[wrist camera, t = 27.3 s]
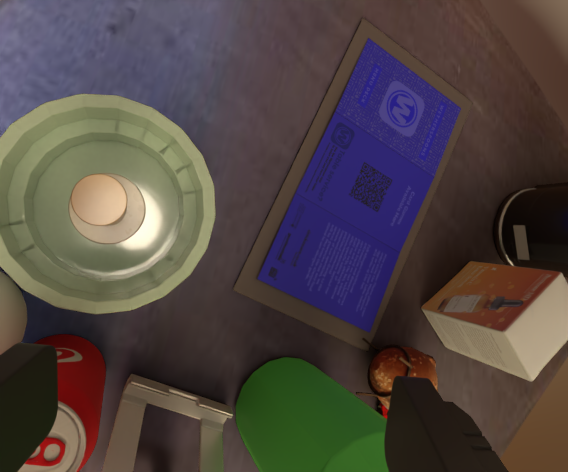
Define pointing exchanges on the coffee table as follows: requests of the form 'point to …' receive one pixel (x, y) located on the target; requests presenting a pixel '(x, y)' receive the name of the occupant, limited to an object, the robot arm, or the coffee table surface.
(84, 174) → the bowl
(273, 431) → the bottle
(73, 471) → the beverage can
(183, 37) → the coffee table surface
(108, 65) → the coffee table surface
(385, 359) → the brown rounded piece
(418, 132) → the booklet
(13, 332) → the ball
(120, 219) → the wooden peg stand
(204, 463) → the tablet stand
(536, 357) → the small box
